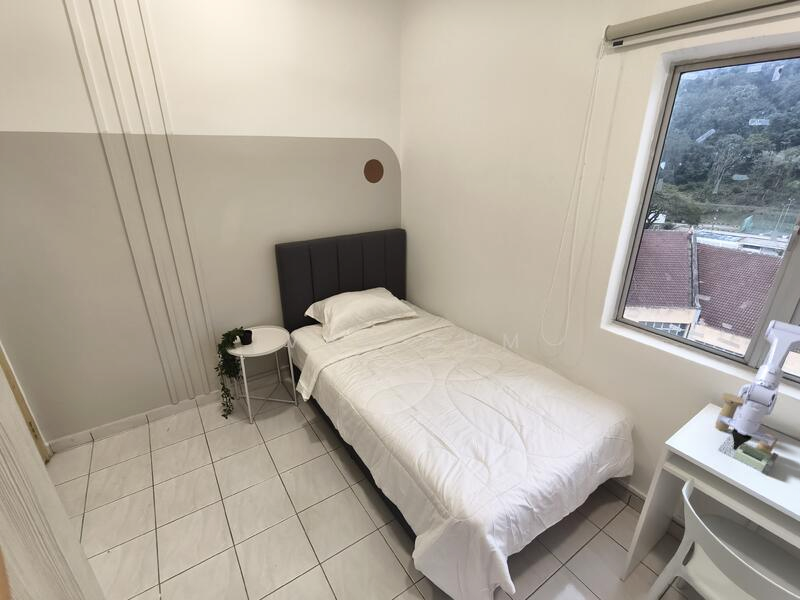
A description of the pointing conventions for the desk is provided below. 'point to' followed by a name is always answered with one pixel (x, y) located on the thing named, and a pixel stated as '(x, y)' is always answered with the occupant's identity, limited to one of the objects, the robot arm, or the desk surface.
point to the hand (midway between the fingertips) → (735, 448)
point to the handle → (728, 409)
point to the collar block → (751, 460)
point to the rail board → (768, 465)
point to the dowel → (764, 447)
